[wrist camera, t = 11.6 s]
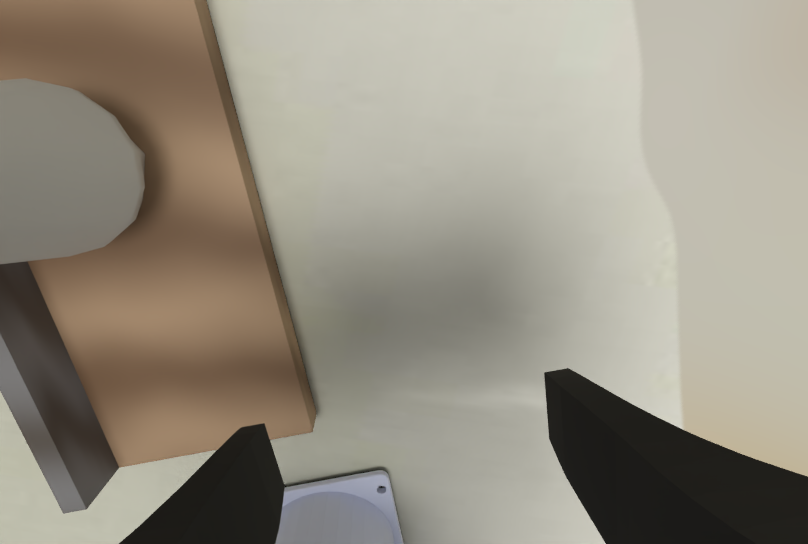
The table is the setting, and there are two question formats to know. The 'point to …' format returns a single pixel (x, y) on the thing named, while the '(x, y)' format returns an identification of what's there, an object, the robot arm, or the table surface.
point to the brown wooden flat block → (147, 261)
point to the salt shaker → (62, 173)
